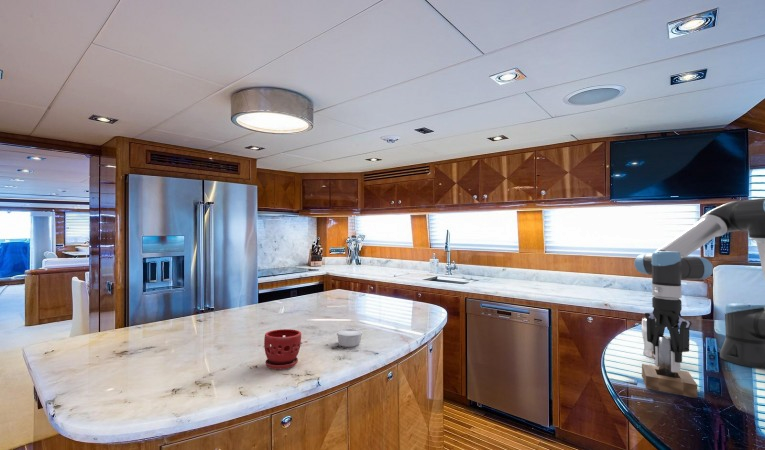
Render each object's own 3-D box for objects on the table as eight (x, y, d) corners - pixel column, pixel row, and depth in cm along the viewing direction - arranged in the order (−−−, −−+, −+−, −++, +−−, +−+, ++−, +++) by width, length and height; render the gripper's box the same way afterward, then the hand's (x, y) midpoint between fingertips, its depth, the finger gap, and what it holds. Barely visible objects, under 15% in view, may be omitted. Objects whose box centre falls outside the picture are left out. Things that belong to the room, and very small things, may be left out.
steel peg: (674, 376, 114) (674, 337, 115) (677, 381, 111) (677, 340, 111) (657, 373, 117) (657, 335, 117) (659, 378, 113) (659, 338, 113)
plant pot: (299, 371, 122) (300, 336, 123) (260, 372, 120) (261, 338, 121) (301, 358, 135) (302, 327, 136) (267, 359, 133) (267, 328, 133)
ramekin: (358, 339, 161) (358, 327, 161) (364, 346, 150) (365, 334, 150) (334, 341, 157) (334, 329, 157) (339, 349, 147) (339, 336, 147)
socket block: (688, 383, 116) (688, 371, 116) (697, 398, 105) (697, 385, 105) (642, 375, 122) (641, 363, 122) (646, 388, 112) (645, 375, 112)
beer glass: (667, 359, 139) (666, 321, 139) (647, 358, 140) (647, 320, 140) (657, 353, 145) (656, 317, 146) (638, 352, 147) (638, 317, 147)
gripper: (633, 293, 122) (633, 360, 121) (686, 303, 105) (687, 380, 104) (650, 293, 124) (650, 358, 123) (704, 302, 107) (706, 378, 106)
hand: (667, 368), depth 114 cm, fingers closed on steel peg, 4 cm apart
